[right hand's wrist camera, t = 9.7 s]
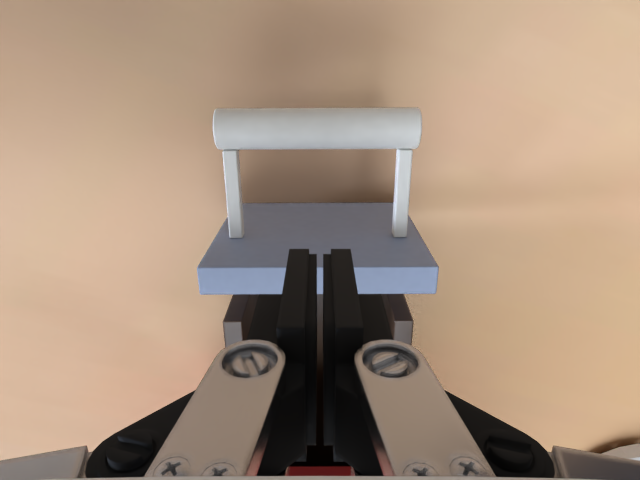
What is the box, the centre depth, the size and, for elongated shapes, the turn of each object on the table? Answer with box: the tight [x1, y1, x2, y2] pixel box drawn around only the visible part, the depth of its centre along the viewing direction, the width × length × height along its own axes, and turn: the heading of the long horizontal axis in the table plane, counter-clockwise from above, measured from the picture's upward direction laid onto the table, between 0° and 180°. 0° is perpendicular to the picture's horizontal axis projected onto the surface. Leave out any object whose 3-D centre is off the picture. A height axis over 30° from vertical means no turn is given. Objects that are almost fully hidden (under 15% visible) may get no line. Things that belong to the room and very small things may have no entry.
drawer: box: [197, 107, 439, 467], centre depth 24 cm, size 26×9×9 cm, turn 0°
